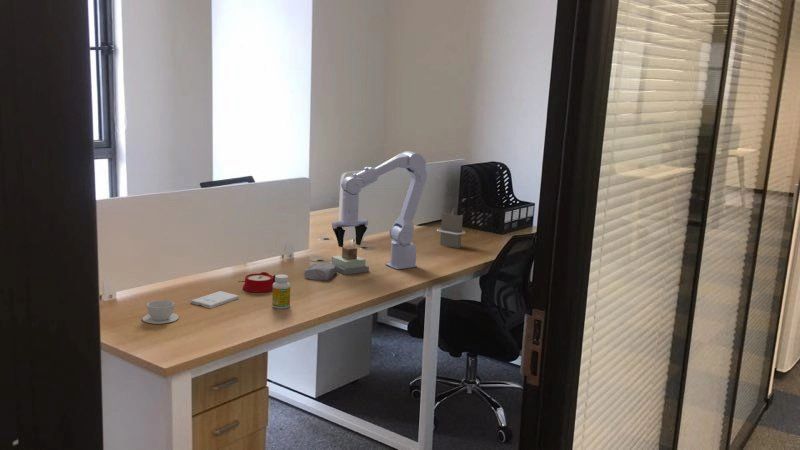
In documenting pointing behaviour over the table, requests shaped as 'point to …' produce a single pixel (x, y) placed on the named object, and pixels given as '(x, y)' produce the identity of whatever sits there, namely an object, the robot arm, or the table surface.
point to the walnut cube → (349, 252)
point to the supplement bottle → (281, 292)
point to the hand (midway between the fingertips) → (349, 245)
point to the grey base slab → (351, 269)
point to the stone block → (320, 271)
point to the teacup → (160, 312)
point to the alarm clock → (259, 282)
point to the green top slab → (348, 262)
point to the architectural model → (451, 230)
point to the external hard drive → (215, 299)
